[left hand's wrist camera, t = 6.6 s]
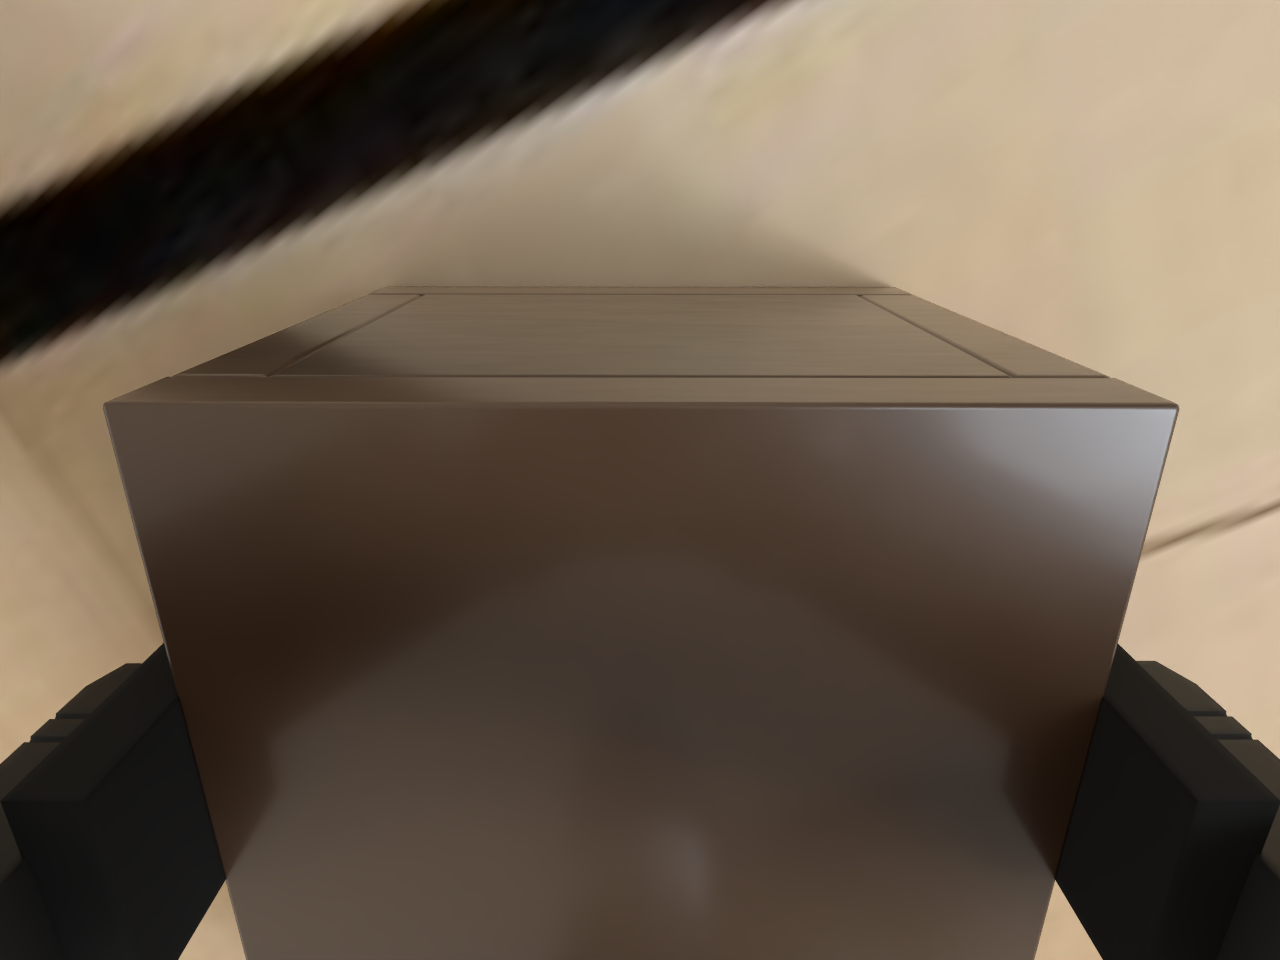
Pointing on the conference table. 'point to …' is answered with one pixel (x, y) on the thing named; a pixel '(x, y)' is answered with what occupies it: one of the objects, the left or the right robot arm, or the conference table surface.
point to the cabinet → (640, 619)
